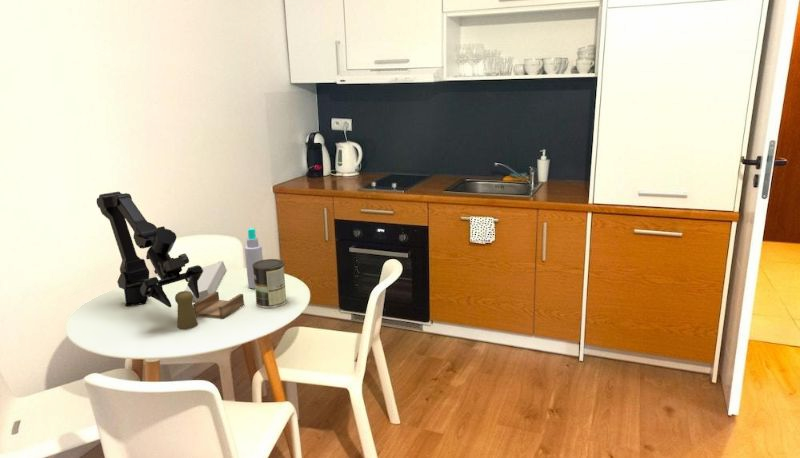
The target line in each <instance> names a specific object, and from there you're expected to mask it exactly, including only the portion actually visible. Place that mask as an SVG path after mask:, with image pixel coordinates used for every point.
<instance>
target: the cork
mask: <svg viewBox="0 0 800 458" xmlns="http://www.w3.org/2000/svg"><path fill="white" fill-rule="evenodd" d="M192 300H193V294H192V293H191V292H189V291H184V290H182V291H179V292H177V293H176V294H175V297H174V301H175V303H176V305H177V324H176V325H177V329H178V330H191V329H194V328H196V327H197V326H198V325H199V323H198V319H197V316H196V315H195V312H194V308H193V304H194V303H192Z"/></svg>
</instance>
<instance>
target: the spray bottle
mask: <svg viewBox="0 0 800 458" xmlns="http://www.w3.org/2000/svg"><path fill="white" fill-rule="evenodd" d="M247 234H248V235H247V236H248V237H247V238H246V246H244V254H245V266H246V275H247V285H248V288H250V289H251V288H252V289H253V290H255V282H254V272H253V266H252V265H253V264H254V263H255V262H257V261H261V260H264V257H263V249H262V248H263V247H262V245H261V244H259V238H258V237H257V236H256V229H255V228H253V227H252V228H248V229H247Z"/></svg>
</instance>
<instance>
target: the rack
mask: <svg viewBox="0 0 800 458" xmlns="http://www.w3.org/2000/svg"><path fill="white" fill-rule="evenodd" d="M219 294H220V293H219V291H216V292H214V293H212V294H210V295H208V296H207V297H205V298H203V299H201V300H200V301H197V302H193V303H192V304H193V308H194V312H195V315H196V317H204V318H210V319H211V318H212V319H221V320H223V319H225V318H227V317H229V316H231V315H232V314H234V312H236V311H238V310H239V309H240V307H241V308H243V307H244V306H245V301H244V300H245V299H244V294H243V293H239V294H237V295H236V296H234V297H232V298H231V299H229V300H223V299H220V296H219ZM243 305H244V306H243Z"/></svg>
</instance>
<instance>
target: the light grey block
mask: <svg viewBox="0 0 800 458" xmlns="http://www.w3.org/2000/svg"><path fill="white" fill-rule="evenodd" d="M225 265H226V264H225V262H224V260H221V261H218V262H215V263H212V264H209V265H205V266H203V267H202V269H203V273H202V275H201V276H200V278H199V280H198V291H199V298H198V299H197V298H196V297H195V295H194V294H193V292H192V291H191V289H190V288H189V287H188V285H187V286H186V287H185V289H184V290H183V291H189V292H191V293H192V294H193V300H192V304H194V303H196V302H198V301H200V300H201V299H203V298H205V297H207V296H208V295H210V294H212V293H214V292H217V291H218V289H219V287H220V285H219V284H221V283H222V281H221V280H223V279H222V278H224V277H225V275H226V272H227V271H228V269H227V268H226V266H225ZM223 276H224V277H223ZM220 282H221V283H220ZM218 286H219V287H218ZM217 288H218V289H217ZM216 290H217V291H216Z"/></svg>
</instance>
